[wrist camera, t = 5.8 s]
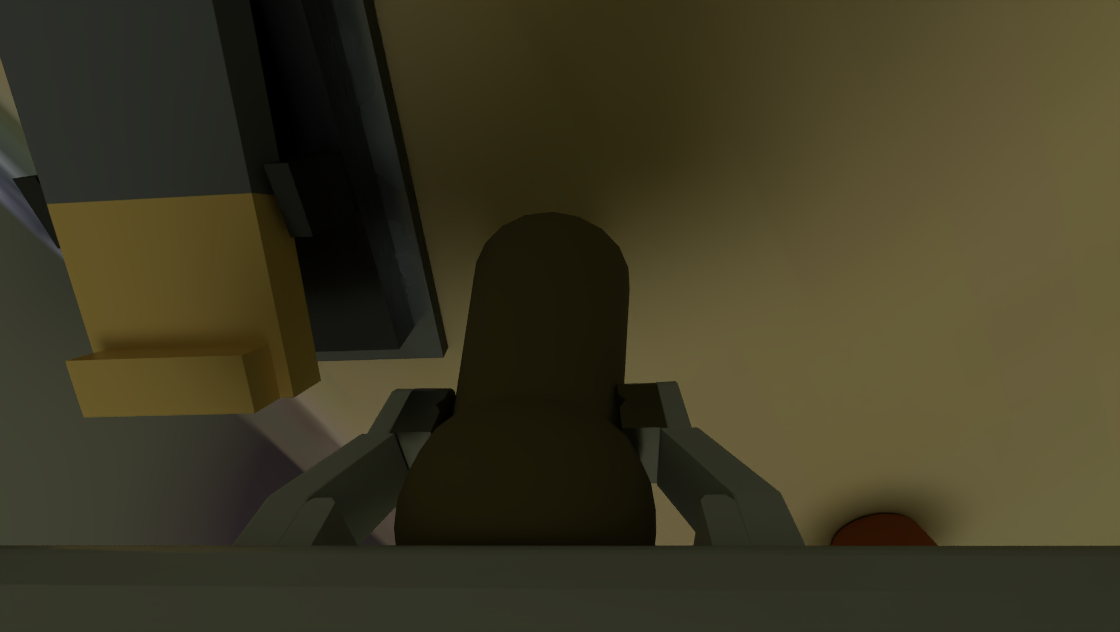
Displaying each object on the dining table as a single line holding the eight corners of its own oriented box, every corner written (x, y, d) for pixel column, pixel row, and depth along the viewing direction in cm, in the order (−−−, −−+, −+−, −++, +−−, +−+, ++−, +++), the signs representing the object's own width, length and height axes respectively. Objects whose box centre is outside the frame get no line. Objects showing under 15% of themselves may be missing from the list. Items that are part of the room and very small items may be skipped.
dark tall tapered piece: (657, 304, 17) (753, 638, 7) (536, 367, 19) (496, 686, 10) (572, 177, 14) (560, 460, 5) (441, 267, 16) (262, 581, 7)
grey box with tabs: (31, -98, 15) (-296, -213, 10) (345, -128, 15) (196, -270, 9) (250, 354, 25) (151, 433, 19) (448, 347, 24) (408, 428, 18)
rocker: (37, -16, 14) (-98, -75, 11) (242, -34, 13) (155, -100, 10) (152, 385, 17) (70, 417, 14) (320, 380, 16) (269, 412, 14)
